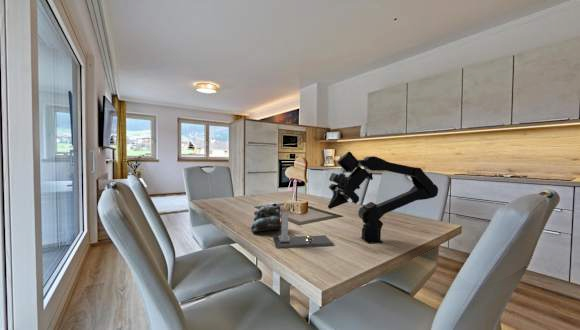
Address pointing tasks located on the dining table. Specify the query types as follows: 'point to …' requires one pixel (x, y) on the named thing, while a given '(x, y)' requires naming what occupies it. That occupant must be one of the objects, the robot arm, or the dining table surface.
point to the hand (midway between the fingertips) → (328, 208)
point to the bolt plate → (303, 241)
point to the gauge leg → (284, 226)
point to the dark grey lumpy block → (267, 218)
